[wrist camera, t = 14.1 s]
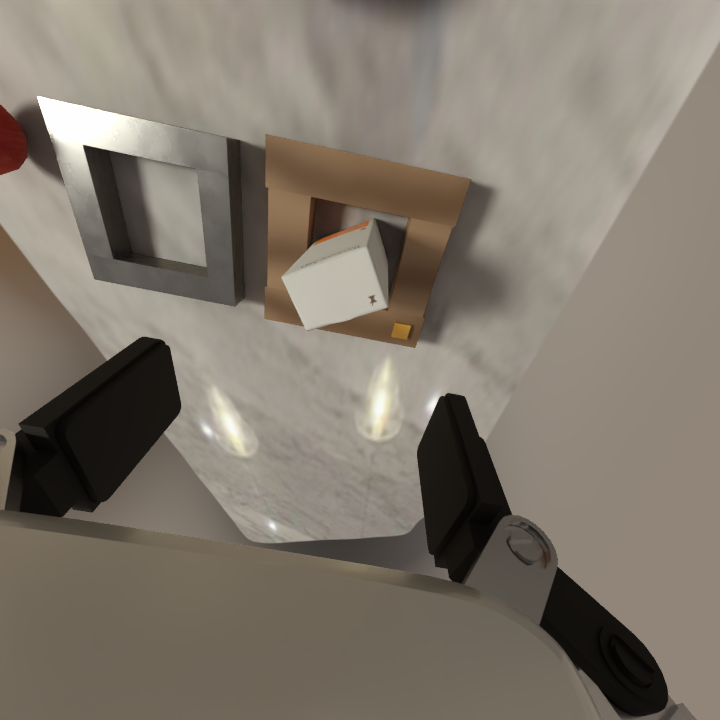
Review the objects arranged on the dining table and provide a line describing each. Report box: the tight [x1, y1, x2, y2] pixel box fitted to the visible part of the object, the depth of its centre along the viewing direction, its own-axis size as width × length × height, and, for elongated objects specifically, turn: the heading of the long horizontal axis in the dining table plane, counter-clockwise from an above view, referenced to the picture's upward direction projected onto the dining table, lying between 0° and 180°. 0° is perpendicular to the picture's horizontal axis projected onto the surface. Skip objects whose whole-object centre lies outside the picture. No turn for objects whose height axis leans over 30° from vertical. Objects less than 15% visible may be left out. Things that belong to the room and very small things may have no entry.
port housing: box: [265, 134, 471, 348], centre depth 28 cm, size 16×16×3 cm
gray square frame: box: [37, 96, 245, 306], centre depth 27 cm, size 14×14×2 cm
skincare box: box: [281, 218, 389, 331], centre depth 24 cm, size 6×4×12 cm
